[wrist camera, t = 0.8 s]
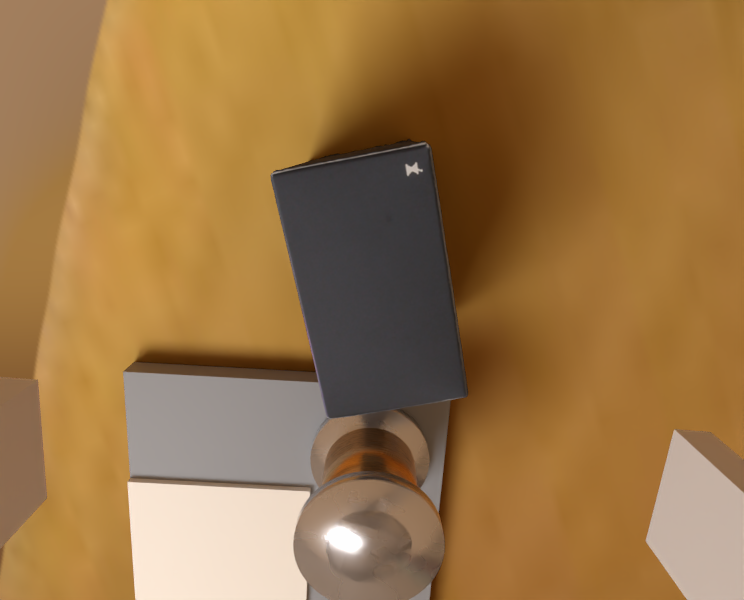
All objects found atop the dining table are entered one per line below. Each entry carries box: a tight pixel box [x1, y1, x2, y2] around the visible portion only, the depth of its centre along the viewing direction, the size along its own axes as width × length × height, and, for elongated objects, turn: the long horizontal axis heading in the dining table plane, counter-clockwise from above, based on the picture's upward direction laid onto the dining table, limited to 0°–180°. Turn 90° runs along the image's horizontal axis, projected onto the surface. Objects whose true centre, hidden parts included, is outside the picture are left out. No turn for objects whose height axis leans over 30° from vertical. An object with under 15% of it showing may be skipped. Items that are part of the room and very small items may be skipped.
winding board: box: [123, 362, 451, 600], centre depth 36 cm, size 19×24×2 cm
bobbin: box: [293, 409, 445, 600], centre depth 29 cm, size 7×7×8 cm
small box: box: [271, 139, 468, 419], centre depth 26 cm, size 11×6×10 cm, turn 11°
